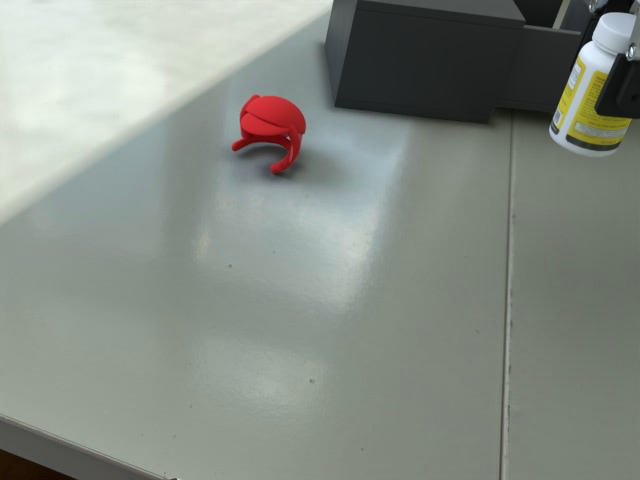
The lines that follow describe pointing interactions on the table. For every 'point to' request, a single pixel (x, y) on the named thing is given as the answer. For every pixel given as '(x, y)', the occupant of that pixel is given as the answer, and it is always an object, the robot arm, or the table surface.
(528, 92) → the drawer
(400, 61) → the cabinet
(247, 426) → the table surface
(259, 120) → the red domed clip
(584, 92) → the supplement bottle
